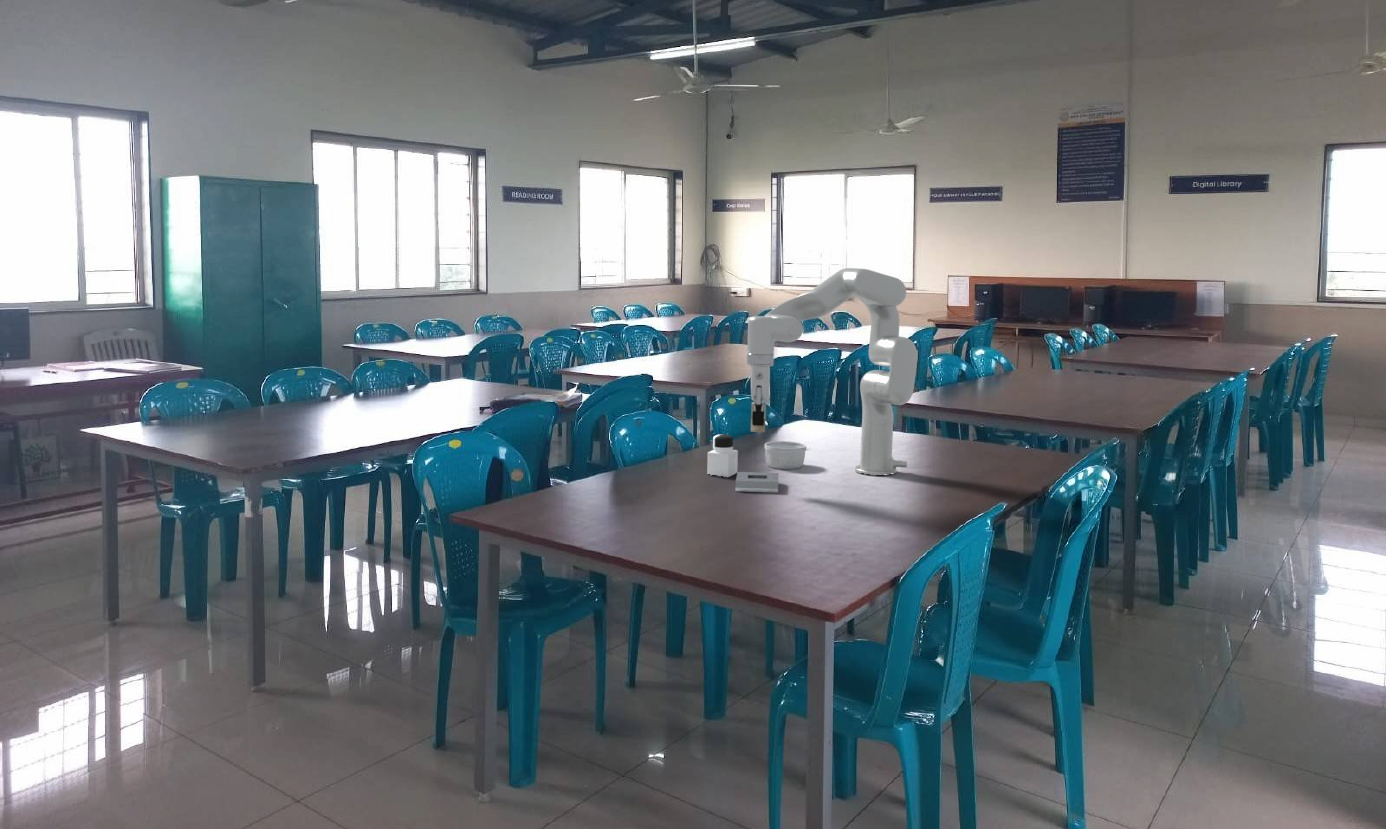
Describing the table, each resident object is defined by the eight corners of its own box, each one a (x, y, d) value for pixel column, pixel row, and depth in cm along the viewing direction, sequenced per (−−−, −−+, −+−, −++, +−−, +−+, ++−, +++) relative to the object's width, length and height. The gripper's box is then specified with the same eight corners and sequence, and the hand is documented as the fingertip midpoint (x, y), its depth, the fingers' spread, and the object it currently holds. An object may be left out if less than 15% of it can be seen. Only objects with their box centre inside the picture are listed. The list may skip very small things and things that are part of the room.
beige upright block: (765, 430, 296) (765, 402, 294) (764, 432, 293) (765, 404, 292) (751, 429, 296) (751, 402, 295) (750, 431, 293) (751, 403, 292)
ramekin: (805, 462, 333) (806, 441, 332) (806, 471, 320) (806, 449, 319) (764, 461, 334) (765, 440, 333) (763, 469, 321) (763, 447, 320)
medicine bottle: (737, 473, 315) (738, 434, 314) (728, 477, 309) (729, 438, 307) (716, 470, 318) (717, 432, 317) (706, 475, 312) (707, 436, 310)
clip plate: (778, 483, 302) (778, 473, 302) (778, 492, 291) (778, 482, 290) (737, 481, 303) (737, 471, 303) (735, 491, 292) (735, 480, 291)
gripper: (773, 363, 283) (771, 429, 286) (773, 357, 299) (771, 420, 302) (745, 362, 284) (743, 428, 286) (747, 357, 300) (746, 419, 302)
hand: (758, 423), depth 294 cm, fingers closed on beige upright block, 3 cm apart
